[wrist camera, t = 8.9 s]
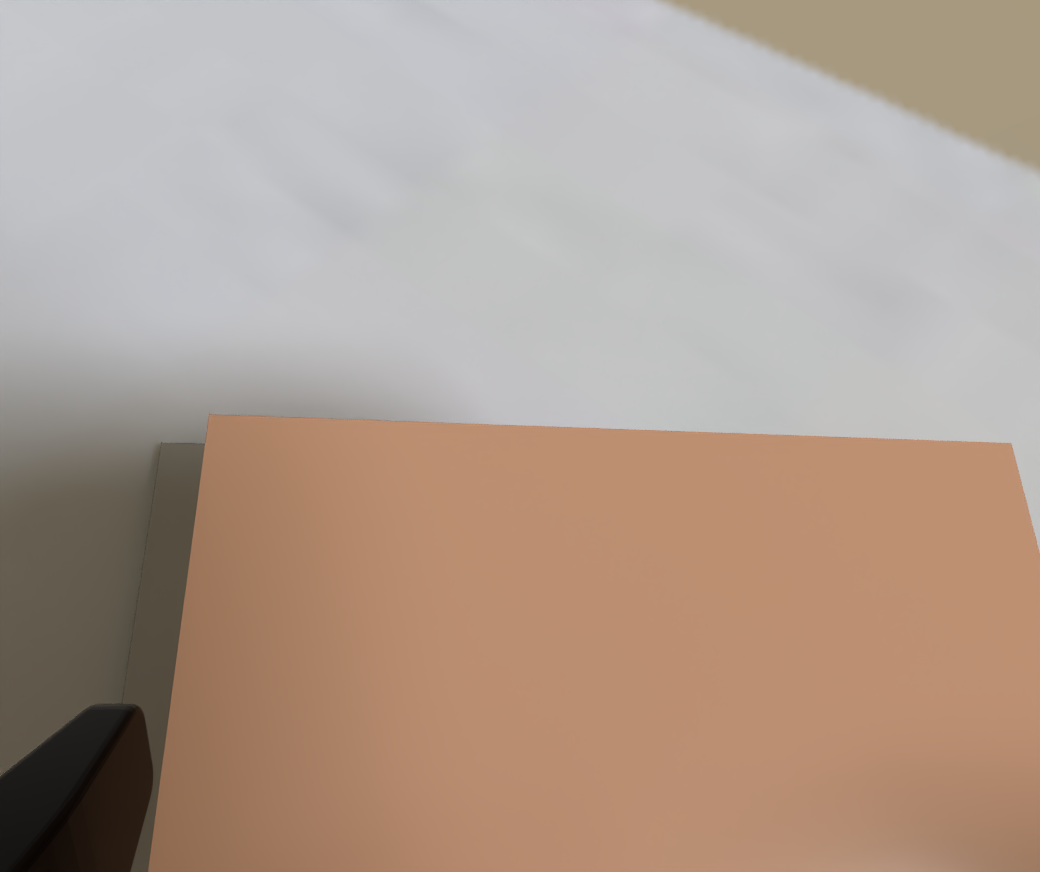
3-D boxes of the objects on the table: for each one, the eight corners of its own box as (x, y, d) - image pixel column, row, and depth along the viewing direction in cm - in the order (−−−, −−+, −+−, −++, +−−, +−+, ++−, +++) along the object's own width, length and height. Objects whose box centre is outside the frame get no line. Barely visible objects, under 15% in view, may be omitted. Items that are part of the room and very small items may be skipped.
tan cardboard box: (704, 1021, 14) (1295, 1546, 5) (290, 1049, 13) (29, 1773, 4) (669, 614, 17) (1010, 443, 7) (321, 613, 16) (208, 414, 6)
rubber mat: (905, 1247, 14) (918, 1261, 13) (37, 1317, 12) (25, 1336, 12) (800, 465, 18) (808, 459, 18) (167, 449, 17) (161, 442, 17)
